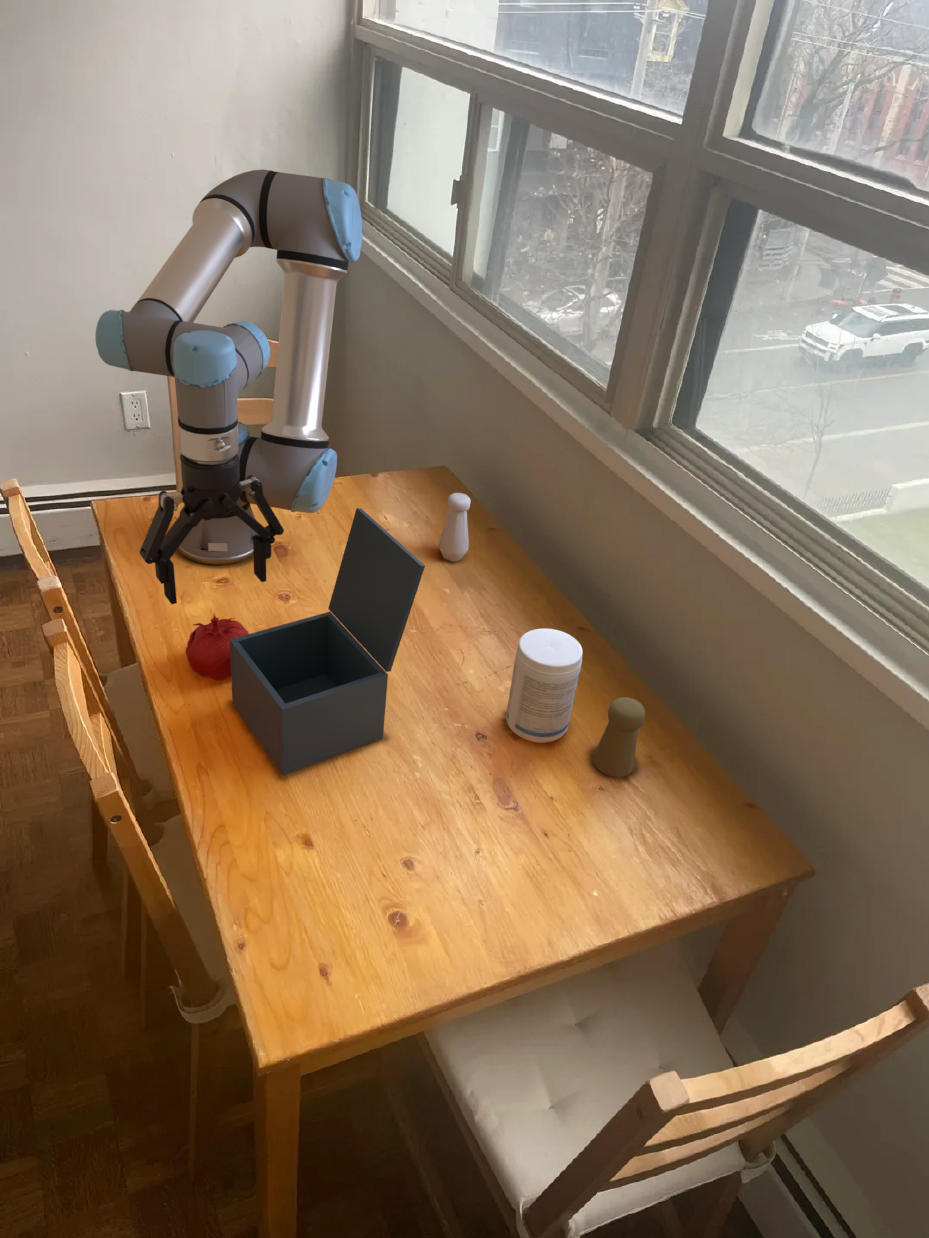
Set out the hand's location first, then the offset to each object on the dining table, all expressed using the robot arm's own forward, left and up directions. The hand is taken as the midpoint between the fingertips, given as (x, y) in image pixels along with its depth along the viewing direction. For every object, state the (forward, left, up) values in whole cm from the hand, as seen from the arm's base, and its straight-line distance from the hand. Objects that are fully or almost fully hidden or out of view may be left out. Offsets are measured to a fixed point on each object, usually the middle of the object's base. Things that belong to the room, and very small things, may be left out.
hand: (216, 588), depth 131 cm
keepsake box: (+17, +6, -15) cm, 23 cm away
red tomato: (0, 0, -15) cm, 15 cm away
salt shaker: (-12, +52, -15) cm, 55 cm away
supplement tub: (+34, +36, -15) cm, 52 cm away
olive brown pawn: (+46, +41, -15) cm, 63 cm away
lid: (+17, +16, +6) cm, 24 cm away
